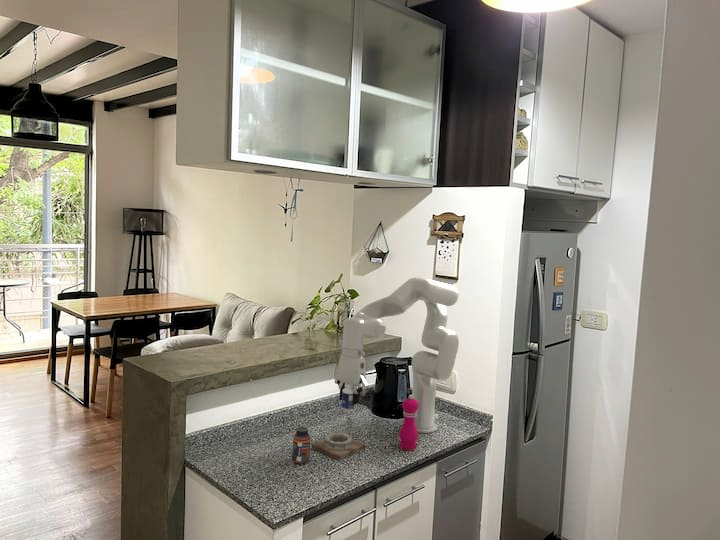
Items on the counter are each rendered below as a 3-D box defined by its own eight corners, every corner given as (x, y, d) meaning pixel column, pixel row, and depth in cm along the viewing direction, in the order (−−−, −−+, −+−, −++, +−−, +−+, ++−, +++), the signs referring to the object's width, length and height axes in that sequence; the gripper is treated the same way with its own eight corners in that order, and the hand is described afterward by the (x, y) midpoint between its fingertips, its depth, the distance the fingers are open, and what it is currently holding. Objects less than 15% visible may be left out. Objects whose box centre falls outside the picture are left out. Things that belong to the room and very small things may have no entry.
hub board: (337, 437, 204) (337, 427, 204) (365, 448, 195) (365, 438, 195) (311, 447, 193) (311, 437, 193) (339, 460, 184) (340, 449, 184)
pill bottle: (339, 407, 194) (340, 381, 193) (352, 406, 196) (354, 380, 195) (345, 412, 189) (346, 385, 188) (358, 410, 191) (360, 384, 190)
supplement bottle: (302, 466, 178) (303, 433, 177) (288, 461, 181) (289, 429, 180) (312, 460, 183) (314, 428, 182) (299, 455, 187) (300, 424, 186)
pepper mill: (416, 451, 194) (419, 398, 193) (396, 449, 196) (400, 396, 194) (418, 444, 202) (421, 392, 200) (399, 441, 203) (402, 390, 201)
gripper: (377, 355, 188) (374, 405, 190) (341, 346, 199) (338, 393, 200) (364, 358, 183) (361, 410, 184) (327, 349, 193) (324, 397, 195)
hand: (349, 401), depth 192 cm, fingers closed on pill bottle, 5 cm apart
